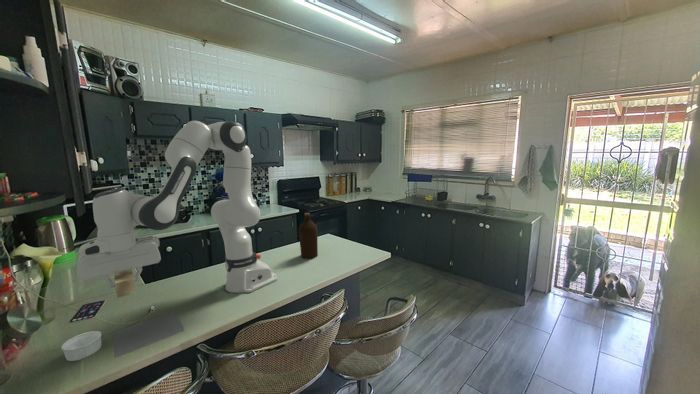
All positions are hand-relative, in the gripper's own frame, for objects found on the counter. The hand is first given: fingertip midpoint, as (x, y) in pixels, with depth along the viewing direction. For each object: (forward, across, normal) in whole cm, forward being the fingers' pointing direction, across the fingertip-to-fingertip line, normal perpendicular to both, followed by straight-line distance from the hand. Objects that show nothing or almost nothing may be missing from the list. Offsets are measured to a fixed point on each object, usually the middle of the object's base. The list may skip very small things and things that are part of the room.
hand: (125, 283), depth 89 cm
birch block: (-1, 0, +7) cm, 7 cm away
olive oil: (+20, -82, -21) cm, 87 cm away
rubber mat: (+19, -4, 0) cm, 19 cm away
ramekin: (+19, +12, -2) cm, 23 cm away
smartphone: (+20, +12, -34) cm, 41 cm away
